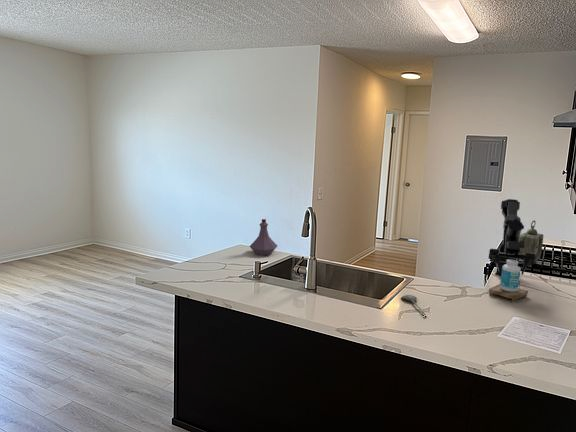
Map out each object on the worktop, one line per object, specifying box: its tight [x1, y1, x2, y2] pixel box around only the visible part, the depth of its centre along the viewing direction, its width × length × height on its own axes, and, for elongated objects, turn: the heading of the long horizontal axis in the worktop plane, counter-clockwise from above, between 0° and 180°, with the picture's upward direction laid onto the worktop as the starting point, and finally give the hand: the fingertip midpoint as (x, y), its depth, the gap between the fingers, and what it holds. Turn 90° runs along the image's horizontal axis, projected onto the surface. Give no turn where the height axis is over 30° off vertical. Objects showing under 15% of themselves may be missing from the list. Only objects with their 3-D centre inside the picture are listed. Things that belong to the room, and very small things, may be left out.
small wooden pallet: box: [488, 283, 529, 304], centre depth 203 cm, size 12×12×3 cm
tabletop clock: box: [519, 220, 544, 268], centre depth 247 cm, size 14×9×25 cm, turn 137°
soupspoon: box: [400, 294, 426, 315], centre depth 189 cm, size 22×3×7 cm
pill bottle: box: [499, 259, 522, 292], centre depth 201 cm, size 8×7×14 cm
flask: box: [249, 218, 278, 256], centre depth 260 cm, size 16×16×20 cm
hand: (510, 272), depth 200 cm, fingers open, 9 cm apart
